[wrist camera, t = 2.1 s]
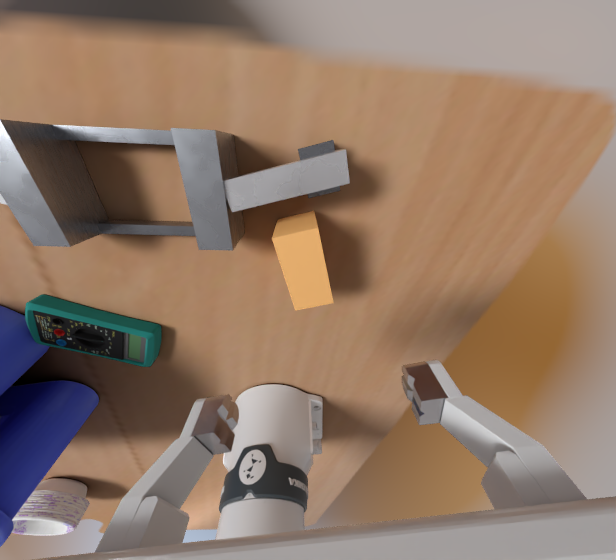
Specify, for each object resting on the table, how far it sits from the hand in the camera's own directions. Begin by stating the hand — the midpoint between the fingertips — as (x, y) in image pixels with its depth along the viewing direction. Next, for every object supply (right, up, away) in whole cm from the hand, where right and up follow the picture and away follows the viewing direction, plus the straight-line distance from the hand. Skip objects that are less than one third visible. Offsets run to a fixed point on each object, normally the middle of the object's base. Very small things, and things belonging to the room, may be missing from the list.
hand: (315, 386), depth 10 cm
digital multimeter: (-29, -1, +21) cm, 35 cm away
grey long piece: (-16, +14, +11) cm, 24 cm away
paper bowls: (-64, -49, +47) cm, 93 cm away
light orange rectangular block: (-1, +9, +15) cm, 18 cm away
